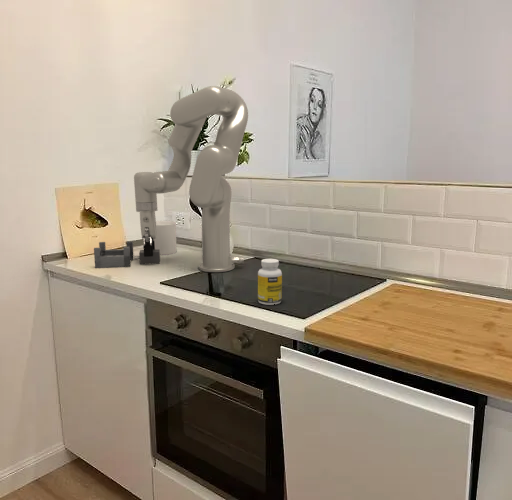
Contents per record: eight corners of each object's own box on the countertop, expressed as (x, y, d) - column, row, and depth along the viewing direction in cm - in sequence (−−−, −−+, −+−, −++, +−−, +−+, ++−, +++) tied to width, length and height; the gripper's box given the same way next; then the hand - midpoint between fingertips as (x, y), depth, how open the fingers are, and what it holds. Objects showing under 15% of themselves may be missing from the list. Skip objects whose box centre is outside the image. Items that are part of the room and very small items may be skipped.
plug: (160, 261, 188) (159, 249, 188) (159, 264, 184) (159, 252, 183) (135, 262, 187) (134, 250, 186) (134, 265, 182) (133, 252, 181)
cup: (152, 256, 196) (150, 225, 193) (143, 251, 206) (142, 222, 203) (180, 253, 201) (179, 223, 199) (171, 248, 211) (169, 219, 209)
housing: (133, 259, 191) (132, 241, 189) (130, 266, 179) (129, 247, 177) (100, 260, 189) (99, 241, 188) (95, 268, 177) (93, 248, 176)
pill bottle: (261, 306, 134) (261, 263, 132) (255, 299, 140) (255, 258, 138) (284, 304, 136) (285, 262, 133) (277, 297, 142) (277, 257, 139)
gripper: (155, 209, 173) (158, 258, 177) (158, 204, 190) (161, 248, 194) (133, 210, 172) (136, 259, 176) (138, 204, 189) (141, 249, 193)
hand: (149, 253), depth 185 cm, fingers open, 9 cm apart
